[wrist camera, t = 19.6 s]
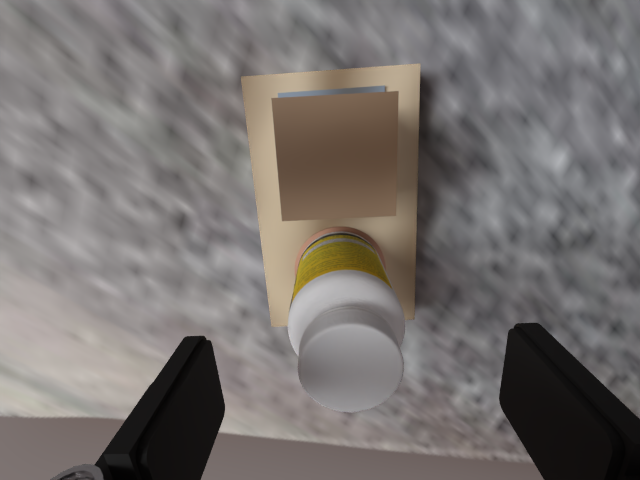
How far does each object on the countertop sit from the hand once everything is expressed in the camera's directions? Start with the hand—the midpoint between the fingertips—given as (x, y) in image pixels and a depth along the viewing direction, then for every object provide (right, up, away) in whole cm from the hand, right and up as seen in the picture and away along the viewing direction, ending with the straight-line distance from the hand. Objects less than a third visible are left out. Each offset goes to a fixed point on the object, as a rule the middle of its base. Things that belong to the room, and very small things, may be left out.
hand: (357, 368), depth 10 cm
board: (0, +6, +12) cm, 14 cm away
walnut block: (0, +9, +9) cm, 13 cm away
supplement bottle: (0, +2, +11) cm, 12 cm away
